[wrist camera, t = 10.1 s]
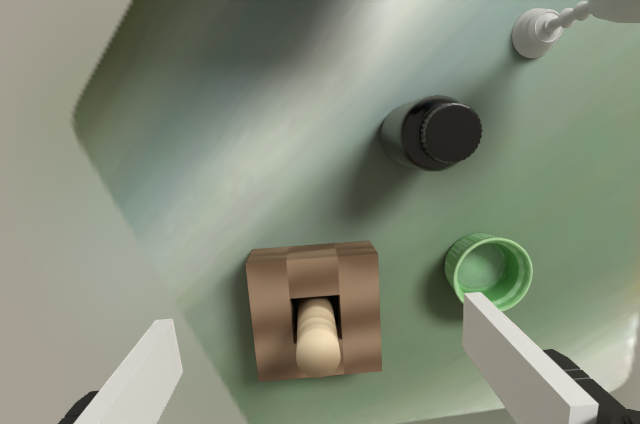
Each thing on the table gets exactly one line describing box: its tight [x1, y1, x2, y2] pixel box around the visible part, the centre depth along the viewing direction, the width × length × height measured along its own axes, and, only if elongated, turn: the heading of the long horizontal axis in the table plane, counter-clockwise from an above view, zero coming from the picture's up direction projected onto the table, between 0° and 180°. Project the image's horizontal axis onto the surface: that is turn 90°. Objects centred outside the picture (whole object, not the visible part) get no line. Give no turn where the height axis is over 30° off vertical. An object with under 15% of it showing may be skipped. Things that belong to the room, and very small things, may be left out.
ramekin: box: [444, 233, 533, 312], centre depth 41 cm, size 9×9×4 cm
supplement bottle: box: [380, 95, 482, 171], centre depth 34 cm, size 7×7×12 cm
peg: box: [296, 295, 341, 378], centre depth 37 cm, size 4×4×12 cm
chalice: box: [512, 0, 640, 58], centre depth 30 cm, size 7×7×18 cm
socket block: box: [245, 241, 382, 382], centre depth 41 cm, size 14×14×5 cm
